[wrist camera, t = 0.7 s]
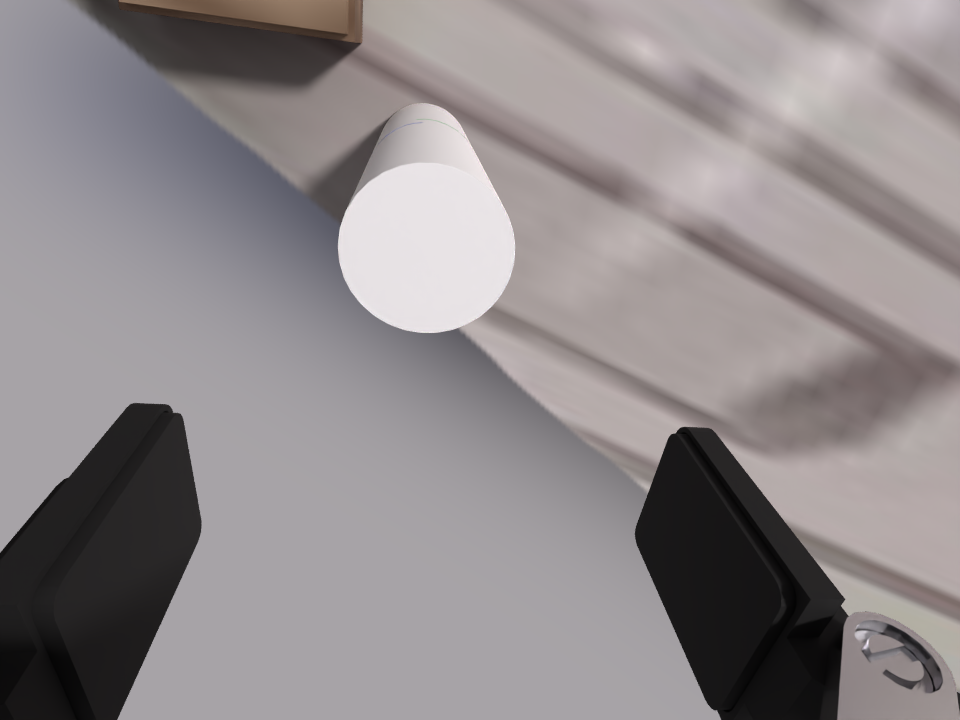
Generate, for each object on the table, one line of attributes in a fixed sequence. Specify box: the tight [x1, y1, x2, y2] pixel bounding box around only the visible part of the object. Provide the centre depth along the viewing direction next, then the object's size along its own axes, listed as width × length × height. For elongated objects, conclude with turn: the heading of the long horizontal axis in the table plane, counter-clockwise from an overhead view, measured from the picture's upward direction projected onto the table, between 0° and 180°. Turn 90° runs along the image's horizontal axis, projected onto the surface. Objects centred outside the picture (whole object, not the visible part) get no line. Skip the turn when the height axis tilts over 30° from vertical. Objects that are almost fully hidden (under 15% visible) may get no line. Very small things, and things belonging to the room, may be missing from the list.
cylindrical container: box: [338, 103, 515, 333], centre depth 32 cm, size 7×7×25 cm
